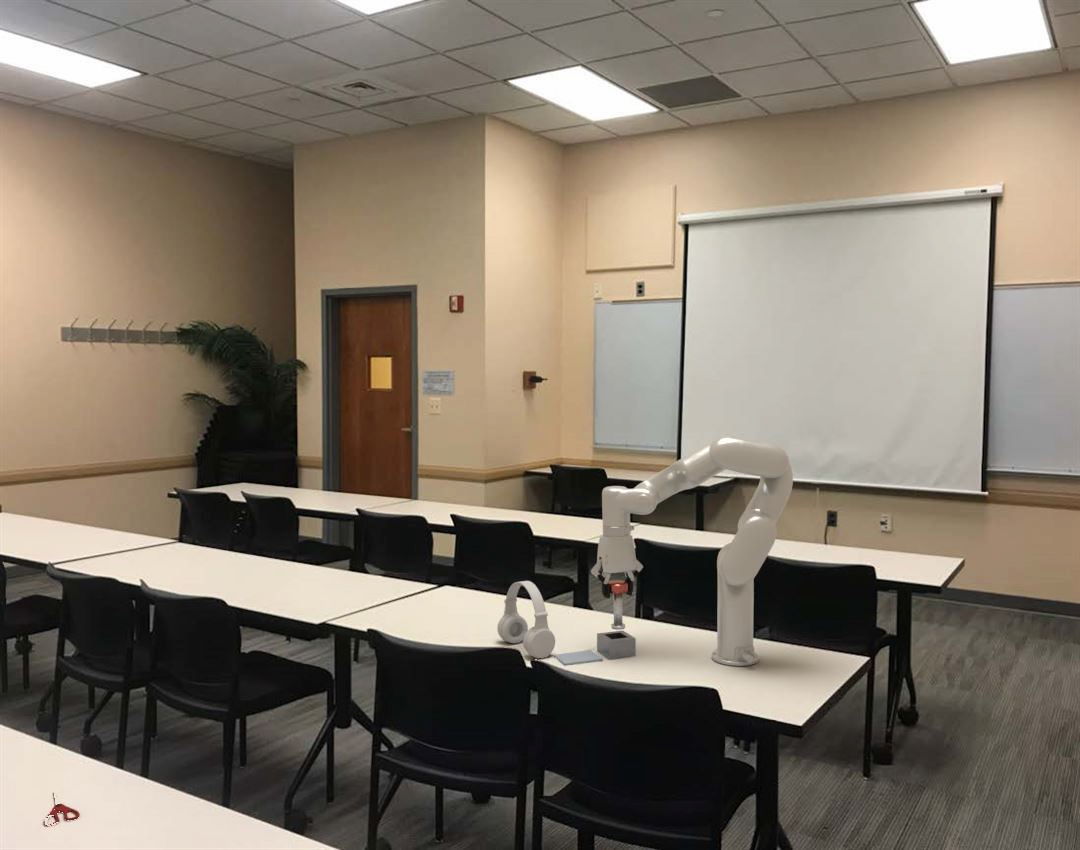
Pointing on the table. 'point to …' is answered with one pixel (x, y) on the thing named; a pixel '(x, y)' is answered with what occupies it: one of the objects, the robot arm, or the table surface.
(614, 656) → the eye block
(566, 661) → the pad
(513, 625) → the headphones
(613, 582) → the red capped metal cylinder
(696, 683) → the table surface
